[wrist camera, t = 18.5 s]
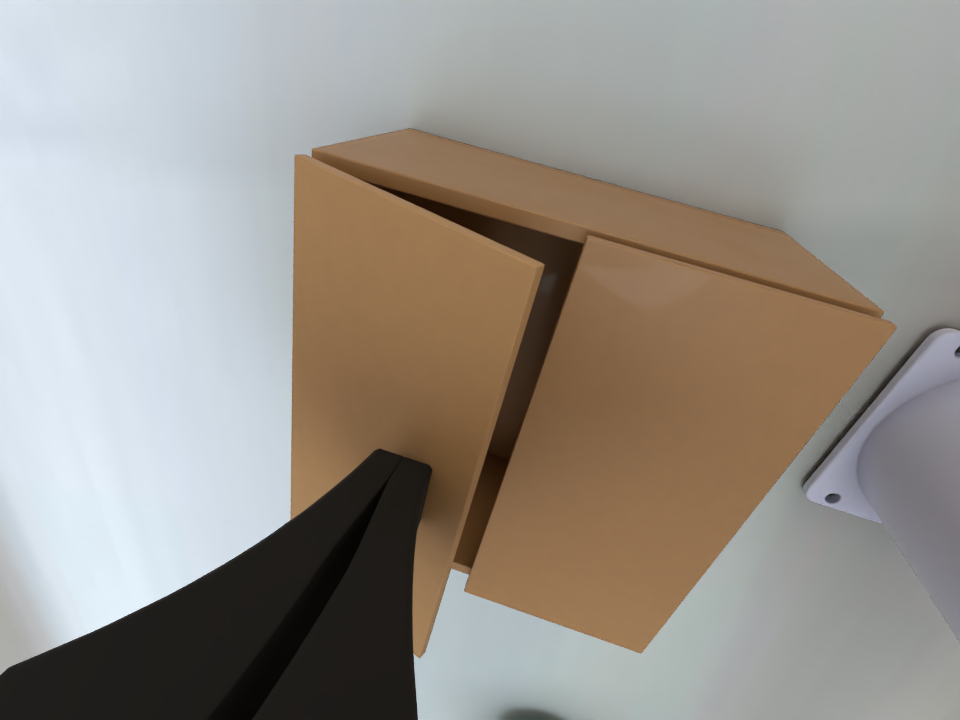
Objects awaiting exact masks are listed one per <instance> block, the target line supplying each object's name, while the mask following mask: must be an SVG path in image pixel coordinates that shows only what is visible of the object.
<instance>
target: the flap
mask: <svg viewBox="0 0 960 720" xmlns="http://www.w3.org/2000/svg"><path fill="white" fill-rule="evenodd" d="M544 266H545V265H544V264H543V263H541V262H539V261H537V260H534V259H532V258H530V257H528V256H526V255H523V254H521V253H519V252H517V251H515V250H513V249H510V248H508V247H506V246H504V245H502V244H499V243H497V242H495V241H493V240H491V239H489V238H486V237H484V236H482V235H480V234H478V233H475V232H473V231H471V230H469V229H467V228H465V227H462V226H460V225H458V224H456V223H454V222H451V221H449V220H447V219H445V218H443V217H441V216H438V215H436V214H434V213H432V212H430V211H427V210H425V209H423V208H421V207H419V206H417V205H414V204H412V203H410V202H408V201H406V200H403V199H401V198H399V197H397V196H395V195H393V194H390V193H388V192H386V191H384V190H382V189H379V188H377V187H375V186H373V185H371V184H369V183H366V182H364V181H362V180H360V179H358V178H355V177H353V176H351V175H349V174H347V173H345V172H342V171H340V170H338V169H336V168H334V167H331V166H329V165H327V164H325V163H323V162H321V161H318V160H316V159H314V158H312V157H310V156H307V155H295V173H294V263H293V353H292V443H291V520H292V519H293V518H294V517H296V516H297V515H299V514H300V513H301V512H303V511H304V510H305V509H307V508H308V507H309V506H311V505H312V504H313V503H314V502H316V501H317V500H318V499H319V498H321V497H322V496H323V495H324V494H326V493H327V492H328V491H329V490H331V489H332V488H333V487H334V486H336V485H337V484H338V483H339V482H340V481H341V480H343V479H344V478H345V477H346V476H347V475H349V474H350V473H351V472H352V471H353V470H354V469H355V468H356V467H357V466H359V465H360V464H361V463H362V462H363V461H364V460H365V459H366V458H367V457H368V456H369V455H370V454H371V453H372V452H373V451H374V450H377V449H379V448H380V449H383V450H386V451H389V452H392V453H395V454H398V455H401V456H403V458H404V457H407V458H410V459H413V460H416V461H419V462H422V463H425V464H428V465H429V466H430V467H431V468H432V473H431V478H430V482H429V486H428V491H427V495H426V499H425V504H424V508H423V512H422V516H421V521H420V523H419V526H418V529H417V536H416V545H415V556H414V573H413V609H412V613H413V653H414V654H415V655H416V656H417V657H418V658H420V657H421V656H422V655H423V654H424V653H425V651H426V648H427V645H428V641H429V638H430V635H431V632H432V629H433V625H434V622H435V619H436V616H437V612H438V609H439V606H440V603H441V599H442V596H443V593H444V590H445V586H446V583H447V580H448V577H449V574H450V570H451V567H452V564H453V561H454V557H455V554H456V551H457V548H458V544H459V541H460V538H461V535H462V531H463V528H464V525H465V522H466V519H467V515H468V512H469V509H470V506H471V502H472V499H473V496H474V493H475V489H476V486H477V483H478V480H479V477H480V473H481V470H482V467H483V464H484V460H485V457H486V454H487V451H488V447H489V444H490V441H491V438H492V434H493V431H494V428H495V425H496V422H497V418H498V415H499V412H500V409H501V405H502V402H503V399H504V396H505V392H506V389H507V386H508V383H509V380H510V376H511V373H512V370H513V367H514V363H515V360H516V357H517V354H518V350H519V347H520V344H521V341H522V337H523V334H524V331H525V328H526V325H527V321H528V318H529V315H530V312H531V308H532V305H533V302H534V299H535V295H536V292H537V289H538V286H539V282H540V279H541V276H542V273H543V270H544Z"/></svg>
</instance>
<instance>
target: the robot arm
mask: <svg viewBox="0 0 960 720" xmlns="http://www.w3.org/2000/svg"><path fill="white" fill-rule="evenodd" d="M958 347H960V330H956V329H951V328H945V329H939V330H937V331H935V332H933V333H931V334H930V335H929V336H928V337H927V338H926V339H925V340H924V341H923V343H922V344H921V345H920V346H919V347H918V349H917V350H916V351H915V352H914V353H913V355H912V356H911V357H910V358H909V359H908V361H907V362H906V363H905V364H904V365H903V367H902V368H901V369H900V370H899V371H898V373H897V374H896V375H895V376H894V377H893V379H892V380H891V381H890V382H889V383H888V385H887V386H886V387H885V388H884V389H883V391H882V392H881V393H880V394H879V395H878V397H877V398H876V399H875V400H874V401H873V403H872V404H871V405H870V406H869V407H868V409H867V410H866V411H865V412H864V413H863V415H862V416H861V417H860V418H859V419H858V421H857V422H856V423H855V424H854V425H853V427H852V428H851V429H850V430H849V431H848V433H847V434H846V435H845V436H844V437H843V439H842V440H841V441H840V442H839V443H838V445H837V446H836V447H835V448H834V449H833V451H832V452H831V453H830V454H829V455H828V457H827V458H826V459H825V460H824V461H823V463H822V464H821V465H820V466H819V467H818V469H817V470H816V471H815V472H814V473H813V475H812V476H811V477H810V478H809V479H808V481H807V482H806V483H805V484H804V486H803V492H804V494H805V496H806V498H807V499H808V500H810V501H811V502H814V503H817V504H820V505H824V506H827V507H830V508H833V509H836V510H839V511H842V512H846V513H849V514H852V515H855V516H858V517H861V518H864V519H868V520H871V521H874V522H877V523H880V524H883V525H884V526H885V528H886V529H887V531H888V532H889V534H890V535H891V537H892V538H893V540H894V542H895V543H896V545H897V546H898V548H899V549H900V551H901V552H902V554H903V556H904V557H905V559H906V560H907V562H908V563H909V565H910V566H911V568H912V569H913V571H914V573H915V574H916V576H917V577H918V579H919V580H920V582H921V583H922V585H923V587H924V588H925V590H926V591H927V593H928V594H929V596H930V597H931V599H932V601H933V602H934V604H935V605H936V607H937V608H938V610H939V611H940V613H941V615H942V616H943V618H944V619H945V621H946V622H947V624H948V625H949V627H950V629H951V630H952V632H953V633H954V635H955V636H956V638H957V639H958V641H959V643H960V352H958V353H955V351H956V349H957V348H958ZM431 473H432V468H431V467H430V466H429V465H428V464H425V463H422V462H419V461H416V460H413V459H410V458H407V457H404V458H403V456H401V455H398V454H395V453H392V452H389V451H386V450H383V449H380V448H379V449H377V450H374V451H373V452H372V453H371V454H370V455H369V456H368V457H367V458H366V459H365V460H364V461H363V462H362V463H361V464H360V465H359V466H357V467H356V468H355V469H354V470H353V471H352V472H351V473H350V474H349V475H347V476H346V477H345V478H344V479H343V480H341V481H340V482H339V483H338V484H337V485H336V486H334V487H333V488H332V489H331V490H329V491H328V492H327V493H326V494H324V495H323V496H322V497H321V498H319V499H318V500H317V501H316V502H314V503H313V504H312V505H311V506H309V507H308V508H307V509H305V510H304V511H303V512H301V513H300V514H299V515H297V516H296V517H294V518H293V519H292V520H290V521H289V522H287V523H286V524H285V525H283V526H282V527H281V528H279V529H278V530H276V531H275V532H274V533H272V534H271V535H269V536H268V537H266V538H265V539H263V540H262V541H260V542H259V543H257V544H256V545H254V546H253V547H251V548H249V549H248V550H246V551H245V552H243V553H241V554H240V555H238V556H237V557H235V558H233V559H232V560H230V561H229V562H227V563H225V564H224V565H222V566H220V567H218V568H217V569H215V570H213V571H211V572H210V573H208V574H206V575H204V576H203V577H201V578H199V579H197V580H196V581H194V582H192V583H190V584H188V585H187V586H185V587H183V588H181V589H179V590H177V591H175V592H173V593H172V594H170V595H168V596H166V597H164V598H162V599H160V600H158V601H156V602H154V603H152V604H150V605H148V606H145V607H143V608H141V609H139V610H137V611H135V612H133V613H131V614H129V615H127V616H125V617H123V618H121V619H119V620H117V621H115V622H113V623H111V624H109V625H106V626H104V627H102V628H100V629H98V630H95V631H93V632H91V633H89V634H86V635H84V636H82V637H79V638H77V639H75V640H72V641H70V642H68V643H65V644H63V645H61V646H58V647H56V648H54V649H51V650H49V651H47V652H44V653H42V654H40V655H37V656H35V657H32V658H30V659H28V660H25V661H23V662H20V663H18V664H16V665H13V666H11V667H9V668H8V669H7V670H6V671H4V672H3V673H2V674H1V675H0V720H418V715H417V702H416V688H415V674H414V656H413V613H412V609H413V573H414V556H415V545H416V536H417V529H418V526H419V523H420V521H421V516H422V512H423V508H424V504H425V499H426V495H427V491H428V486H429V482H430V478H431ZM833 493H834V495H832V496H827V495H829V494H833Z"/></svg>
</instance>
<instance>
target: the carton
mask: <svg viewBox="0 0 960 720" xmlns="http://www.w3.org/2000/svg"><path fill="white" fill-rule="evenodd" d="M312 158H314V159H316V160H318V161H321V162H323V163H325V164H327V165H329V166H331V167H334V168H336V169H338V170H340V171H342V172H345V173H347V174H349V175H351V176H353V177H355V178H358V179H360V180H362V181H364V182H366V183H369V184H371V185H373V186H375V187H377V188H379V189H382V190H384V191H386V192H388V193H390V194H393V195H395V196H397V197H399V198H401V199H403V200H406V201H408V202H410V203H412V204H414V205H417V206H419V207H421V208H423V209H425V210H427V211H430V212H432V213H434V214H436V215H438V216H441V217H443V218H445V219H447V220H449V221H451V222H454V223H456V224H458V225H460V226H462V227H465V228H467V229H469V230H471V231H473V232H475V233H478V234H480V235H482V236H484V237H486V238H489V239H491V240H493V241H495V242H497V243H499V244H502V245H504V246H506V247H508V248H510V249H513V250H515V251H517V252H519V253H521V254H523V255H526V256H528V257H530V258H532V259H534V260H537V261H539V262H541V263H543V264H544V265H545V266H544V270H543V273H542V276H541V279H540V282H539V286H538V289H537V292H536V295H535V299H534V302H533V305H532V308H531V312H530V315H529V318H528V321H527V325H526V328H525V331H524V334H523V337H522V341H521V344H520V347H519V350H518V354H517V357H516V360H515V363H514V367H513V370H512V373H511V376H510V380H509V383H508V386H507V389H506V392H505V396H504V399H503V402H502V405H501V409H500V412H499V415H498V418H497V422H496V425H495V428H494V431H493V434H492V438H491V441H490V444H489V447H488V451H487V454H486V457H485V460H484V464H483V467H482V470H481V473H480V477H479V480H478V483H477V486H476V489H475V493H474V496H473V499H472V502H471V506H470V509H469V512H468V515H467V519H466V522H465V525H464V528H463V531H462V535H461V538H460V541H459V544H458V548H457V551H456V554H455V557H454V561H453V564H452V567H451V568H452V569H455V570H457V571H460V572H463V573H466V574H469V577H468V580H467V583H466V586H465V589H464V591H465V592H467V593H470V594H473V595H476V596H479V597H482V598H484V599H487V600H490V601H493V602H496V603H499V604H502V605H504V606H507V607H510V608H513V609H516V610H519V611H522V612H524V613H527V614H530V615H533V616H536V617H539V618H541V619H544V620H547V621H550V622H553V623H556V624H559V625H561V626H564V627H567V628H570V629H573V630H576V631H578V632H581V633H584V634H587V635H590V636H593V637H596V638H598V639H601V640H604V641H607V642H610V643H613V644H615V645H618V646H621V647H624V648H627V649H630V650H633V651H635V652H638V653H642V652H643V651H644V649H645V648H646V647H647V646H648V644H649V643H650V642H651V641H652V639H653V638H654V637H655V635H656V634H657V633H658V632H659V630H660V629H661V628H662V627H663V625H664V624H665V623H666V621H667V620H668V619H669V618H670V616H671V615H672V614H673V613H674V611H675V610H676V609H677V607H678V606H679V605H680V604H681V602H682V601H683V600H684V599H685V597H686V596H687V595H688V593H689V592H690V591H691V590H692V588H693V587H694V586H695V585H696V583H697V582H698V581H699V579H700V578H701V577H702V576H703V574H704V573H705V572H706V571H707V569H708V568H709V567H710V565H711V564H712V563H713V562H714V560H715V559H716V558H717V556H718V555H719V554H720V553H721V551H722V550H723V549H724V548H725V546H726V545H727V544H728V542H729V541H730V540H731V539H732V537H733V536H734V535H735V534H736V532H737V531H738V530H739V528H740V527H741V526H742V525H743V523H744V522H745V521H746V520H747V518H748V517H749V516H750V514H751V513H752V512H753V511H754V509H755V508H756V507H757V506H758V504H759V503H760V502H761V500H762V499H763V498H764V497H765V495H766V494H767V493H768V492H769V490H770V489H771V488H772V486H773V485H774V484H775V483H776V481H777V480H778V479H779V478H780V476H781V475H782V474H783V472H784V471H785V470H786V469H787V467H788V466H789V465H790V464H791V462H792V461H793V460H794V458H795V457H796V456H797V455H798V453H799V452H800V451H801V450H802V448H803V447H804V446H805V444H806V443H807V442H808V441H809V439H810V438H811V437H812V436H813V434H814V433H815V432H816V430H817V429H818V428H819V427H820V425H821V424H822V423H823V422H824V420H825V419H826V418H827V416H828V415H829V414H830V413H831V411H832V410H833V409H834V407H835V406H836V405H837V404H838V402H839V401H840V400H841V399H842V397H843V396H844V395H845V393H846V392H847V391H848V390H849V388H850V387H851V386H852V385H853V383H854V382H855V381H856V379H857V378H858V377H859V376H860V374H861V373H862V372H863V371H864V369H865V368H866V367H867V365H868V364H869V363H870V362H871V360H872V359H873V358H874V357H875V355H876V354H877V353H878V351H879V350H880V349H881V348H882V346H883V345H884V344H885V343H886V341H887V340H888V339H889V337H890V336H891V335H892V334H893V332H894V331H895V330H896V328H897V327H896V326H895V325H894V324H893V323H891V322H890V321H887V320H884V319H880V317H881V316H882V315H883V313H884V311H883V310H882V309H880V308H879V307H878V306H877V305H875V304H874V303H873V302H871V301H870V300H869V299H868V298H866V297H865V296H864V295H863V294H861V293H860V292H859V291H858V290H856V289H855V288H854V287H853V286H851V285H850V284H849V283H848V282H846V281H845V280H844V279H843V278H841V277H840V276H839V275H837V274H836V273H835V272H834V271H832V270H831V269H830V268H829V267H827V266H826V265H825V264H824V263H822V262H821V261H820V260H819V259H817V258H816V257H815V256H814V255H812V254H811V253H810V252H809V251H807V250H806V249H805V248H804V247H802V246H801V245H800V244H798V243H797V242H796V241H795V240H793V239H792V238H791V237H790V236H788V235H787V234H786V233H785V232H782V231H778V230H775V229H771V228H767V227H764V226H760V225H757V224H753V223H749V222H746V221H742V220H739V219H735V218H731V217H728V216H724V215H720V214H717V213H713V212H710V211H706V210H702V209H699V208H695V207H692V206H688V205H684V204H681V203H677V202H674V201H670V200H666V199H663V198H659V197H655V196H652V195H648V194H645V193H641V192H637V191H634V190H630V189H627V188H623V187H619V186H616V185H612V184H609V183H605V182H601V181H598V180H594V179H590V178H587V177H583V176H580V175H576V174H572V173H569V172H565V171H562V170H558V169H554V168H551V167H547V166H544V165H540V164H536V163H533V162H529V161H526V160H522V159H518V158H515V157H511V156H507V155H504V154H500V153H497V152H493V151H489V150H486V149H482V148H479V147H475V146H471V145H468V144H464V143H461V142H457V141H453V140H450V139H446V138H442V137H439V136H435V135H432V134H428V133H424V132H421V131H417V130H414V129H410V128H409V129H404V130H399V131H394V132H390V133H385V134H380V135H375V136H371V137H366V138H361V139H356V140H351V141H347V142H342V143H337V144H332V145H328V146H323V147H318V148H313V149H312Z"/></svg>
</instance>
